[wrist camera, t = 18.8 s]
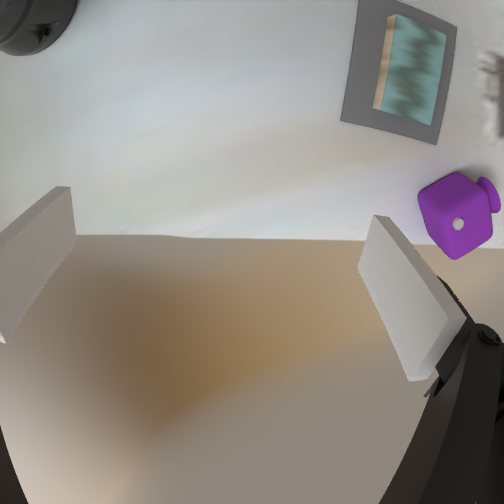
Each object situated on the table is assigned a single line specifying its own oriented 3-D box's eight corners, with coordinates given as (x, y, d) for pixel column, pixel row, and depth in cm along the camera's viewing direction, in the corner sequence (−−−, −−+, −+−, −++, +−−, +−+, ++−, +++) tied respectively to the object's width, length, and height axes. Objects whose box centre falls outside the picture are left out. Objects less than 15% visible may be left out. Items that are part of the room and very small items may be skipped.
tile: (381, 110, 36) (396, 14, 29) (372, 107, 39) (387, 16, 32) (430, 125, 37) (446, 35, 30) (420, 121, 40) (435, 35, 32)
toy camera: (484, 197, 46) (517, 223, 38) (431, 242, 51) (458, 274, 42) (464, 149, 42) (502, 170, 33) (405, 198, 47) (436, 227, 38)
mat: (340, 120, 40) (341, 121, 40) (360, -11, 30) (361, -12, 30) (434, 144, 42) (436, 145, 41) (455, 27, 32) (457, 27, 31)
